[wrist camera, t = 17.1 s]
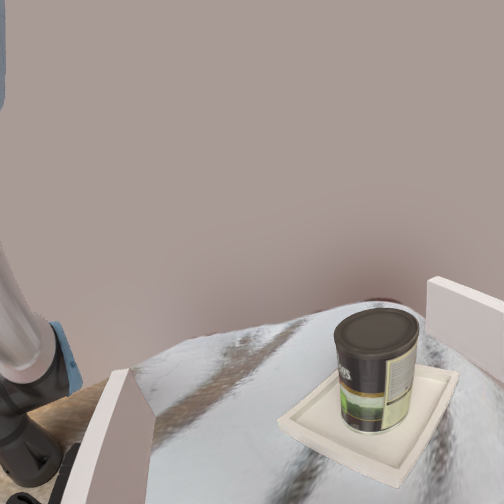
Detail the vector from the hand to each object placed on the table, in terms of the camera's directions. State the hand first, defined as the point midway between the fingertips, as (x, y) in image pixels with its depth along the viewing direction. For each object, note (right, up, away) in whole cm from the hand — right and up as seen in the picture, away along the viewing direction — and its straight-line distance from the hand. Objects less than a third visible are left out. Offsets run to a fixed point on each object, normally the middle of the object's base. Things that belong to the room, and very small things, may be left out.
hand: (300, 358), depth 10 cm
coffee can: (+16, -18, +21) cm, 32 cm away
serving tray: (+16, -19, +21) cm, 33 cm away
